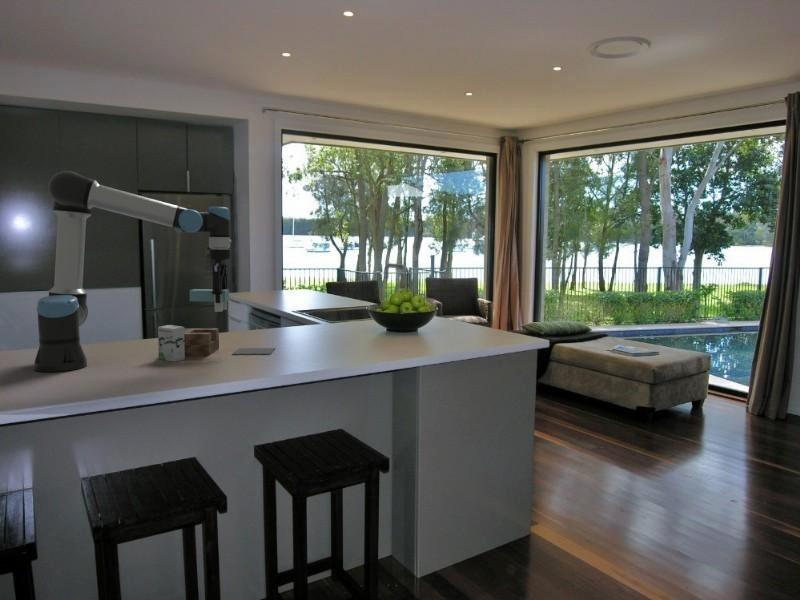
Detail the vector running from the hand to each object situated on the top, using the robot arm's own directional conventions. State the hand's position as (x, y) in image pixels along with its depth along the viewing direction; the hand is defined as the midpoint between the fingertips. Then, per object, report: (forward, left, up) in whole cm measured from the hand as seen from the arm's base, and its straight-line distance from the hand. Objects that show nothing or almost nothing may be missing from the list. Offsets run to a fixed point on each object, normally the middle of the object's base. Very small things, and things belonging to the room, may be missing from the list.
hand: (220, 310), depth 226 cm
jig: (-11, 0, -16) cm, 19 cm away
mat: (+12, 0, -16) cm, 20 cm away
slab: (-4, 0, +4) cm, 5 cm away
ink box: (-14, -14, -16) cm, 25 cm away
